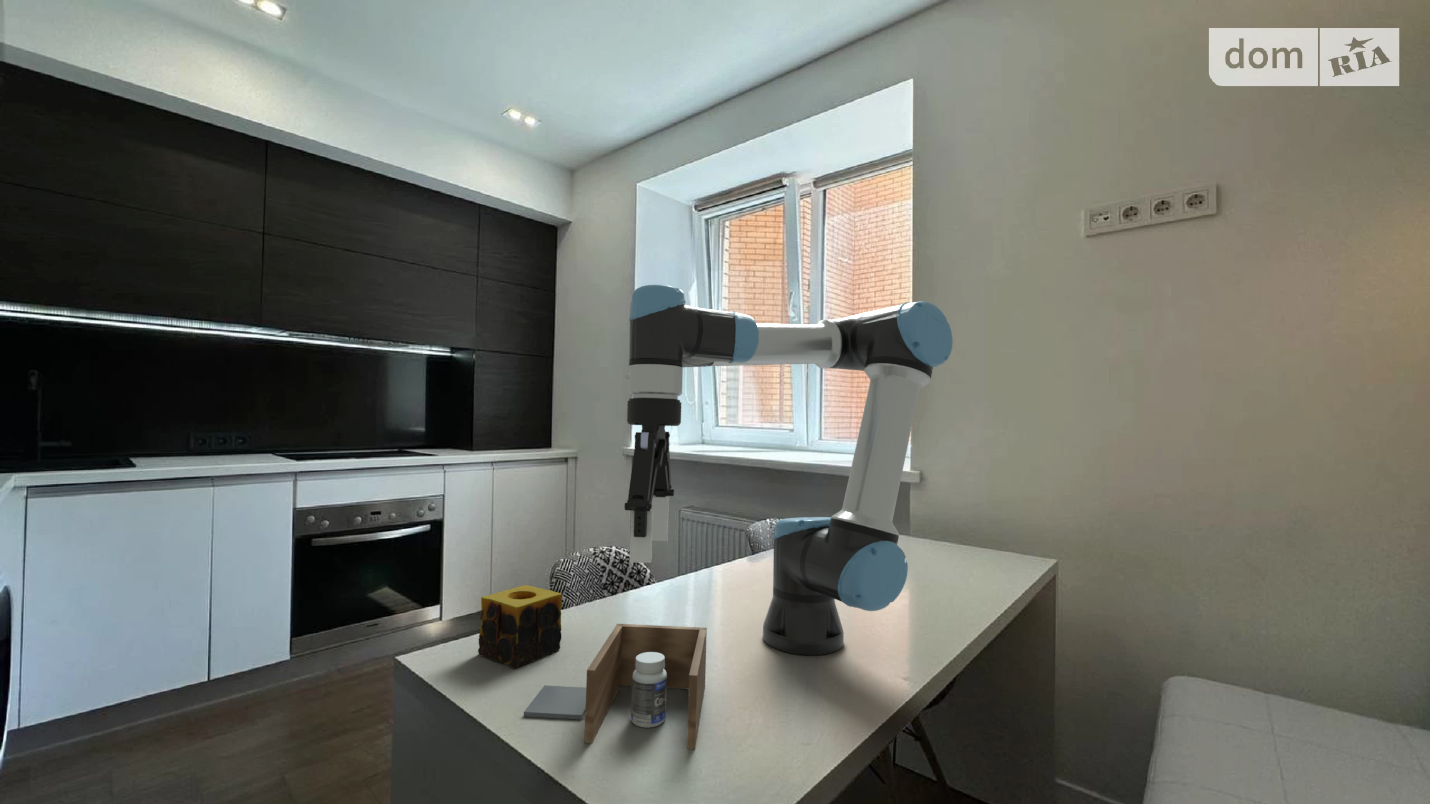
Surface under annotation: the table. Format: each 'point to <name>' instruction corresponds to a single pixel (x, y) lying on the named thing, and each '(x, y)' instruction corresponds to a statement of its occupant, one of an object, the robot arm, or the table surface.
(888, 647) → the table surface
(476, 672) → the table surface
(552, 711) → the slate coaster
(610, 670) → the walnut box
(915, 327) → the robot arm
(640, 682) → the pill bottle
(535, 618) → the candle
